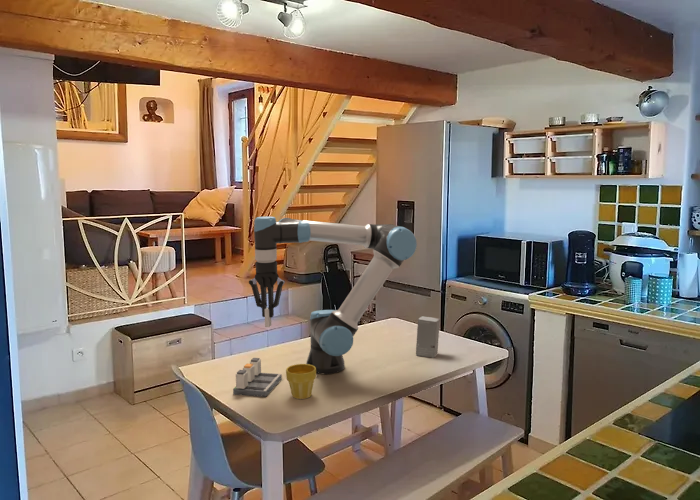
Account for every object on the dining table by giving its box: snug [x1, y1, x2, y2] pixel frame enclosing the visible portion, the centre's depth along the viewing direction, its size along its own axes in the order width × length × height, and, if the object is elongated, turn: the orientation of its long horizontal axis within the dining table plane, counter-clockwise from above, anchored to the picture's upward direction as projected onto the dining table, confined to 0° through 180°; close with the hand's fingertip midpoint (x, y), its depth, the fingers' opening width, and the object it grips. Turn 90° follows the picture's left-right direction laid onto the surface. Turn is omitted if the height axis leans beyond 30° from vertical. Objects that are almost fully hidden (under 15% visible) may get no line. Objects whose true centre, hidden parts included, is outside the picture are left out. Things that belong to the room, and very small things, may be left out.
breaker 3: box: [249, 357, 262, 375], centre depth 208 cm, size 3×4×6 cm
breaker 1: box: [235, 369, 248, 389], centre depth 195 cm, size 3×4×6 cm
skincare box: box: [415, 315, 441, 359], centre depth 236 cm, size 8×7×16 cm
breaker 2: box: [242, 363, 255, 382], centre depth 202 cm, size 3×4×6 cm
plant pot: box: [285, 363, 317, 400], centre depth 193 cm, size 10×10×10 cm
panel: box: [232, 372, 283, 398], centre depth 201 cm, size 12×17×2 cm
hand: (268, 325), depth 199 cm, fingers closed
